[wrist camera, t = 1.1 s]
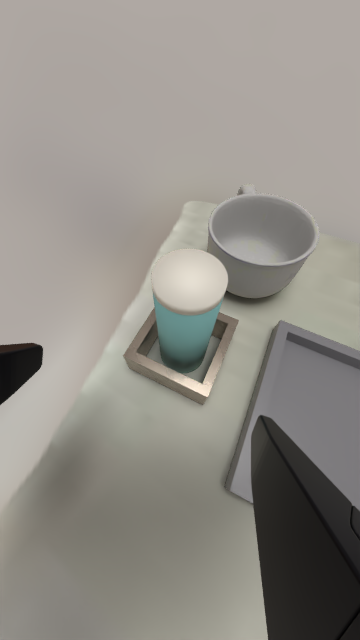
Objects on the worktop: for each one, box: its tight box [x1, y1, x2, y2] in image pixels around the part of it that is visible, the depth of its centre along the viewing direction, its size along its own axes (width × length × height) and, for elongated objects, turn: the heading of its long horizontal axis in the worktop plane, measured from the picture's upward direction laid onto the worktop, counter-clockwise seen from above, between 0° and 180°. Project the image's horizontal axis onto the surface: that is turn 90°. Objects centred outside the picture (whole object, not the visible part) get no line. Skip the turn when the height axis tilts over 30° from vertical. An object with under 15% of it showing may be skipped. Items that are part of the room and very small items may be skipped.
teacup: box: [208, 184, 319, 298], centre depth 27 cm, size 14×11×8 cm
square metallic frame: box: [123, 307, 239, 405], centre depth 22 cm, size 8×8×4 cm
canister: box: [151, 249, 228, 373], centre depth 19 cm, size 5×5×12 cm
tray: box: [225, 320, 360, 511], centre depth 19 cm, size 16×16×2 cm
